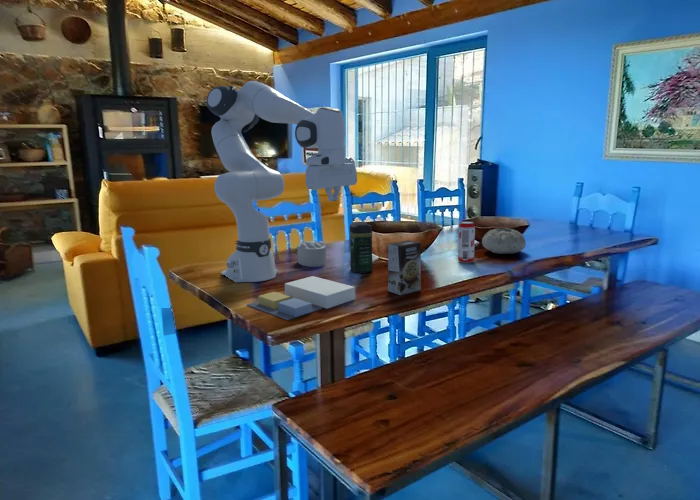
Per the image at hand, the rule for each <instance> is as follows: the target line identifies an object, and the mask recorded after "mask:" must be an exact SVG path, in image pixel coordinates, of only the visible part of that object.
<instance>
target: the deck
mask: <svg viewBox="0 0 700 500" xmlns="http://www.w3.org/2000/svg"><path fill="white" fill-rule="evenodd" d="M284 295H287V296H290V298H296V299H299V300H302V301H306V302H309V303H312V305H315V306H318V307H321V308H322V309H323V308H324V309H330V308H333V307H336V306H339V305H341V304H344V303H345V304H346V303H348V302H352V301H354V300H356V287H355V286H353V285H348V284H344V283H341V282H338V281H334V280H330V279H325V278H321V277H318V276H314V275H311V276H307V277H305V278H300V279H295V280H293V281H289V282H285V283H284Z"/></svg>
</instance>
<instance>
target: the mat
mask: <svg viewBox="0 0 700 500" xmlns="http://www.w3.org/2000/svg"><path fill="white" fill-rule="evenodd" d="M290 299H292V298H291V297H290ZM247 306H248V307H250V308H253V309H256V310H258V311H260V312H264V313H266V314H269V315H271V316H275V317H277V318H280V319H282V320H285V321H290V320H293V319H296V318H300V317H302V316H305V315H308V314H312V313H314V312H317V311H319V310H322V309H323V307H320V306H317V305H314V304H312V312H309V313H306V314H303V315H300V316H297V317H295V316H292V315H289V314H286V313H283V312H280V311H279V309H272V308H269V307H267V306H264V305H261V304H259V300H257V301H254V302H251V303H250V302H249V303H247V304H246V307H247Z"/></svg>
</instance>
